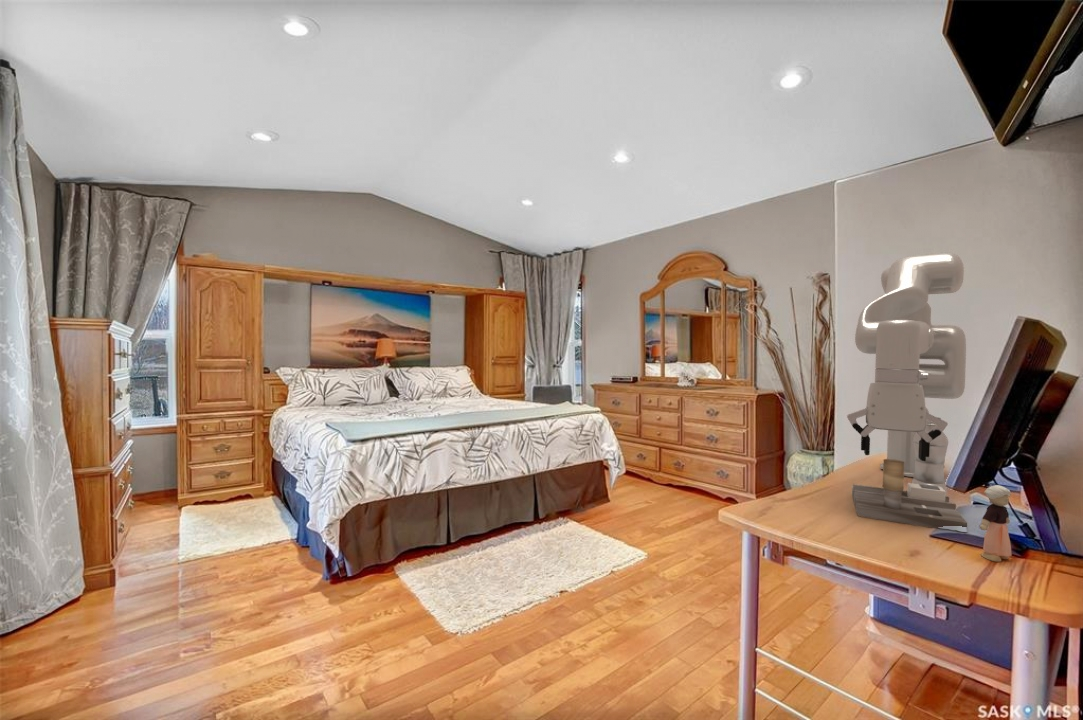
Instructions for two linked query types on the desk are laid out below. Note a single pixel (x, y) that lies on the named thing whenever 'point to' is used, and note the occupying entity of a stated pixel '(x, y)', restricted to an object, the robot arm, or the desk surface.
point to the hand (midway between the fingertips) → (893, 457)
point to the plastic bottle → (931, 459)
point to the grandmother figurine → (996, 525)
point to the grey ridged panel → (905, 509)
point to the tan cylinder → (893, 482)
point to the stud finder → (926, 492)
